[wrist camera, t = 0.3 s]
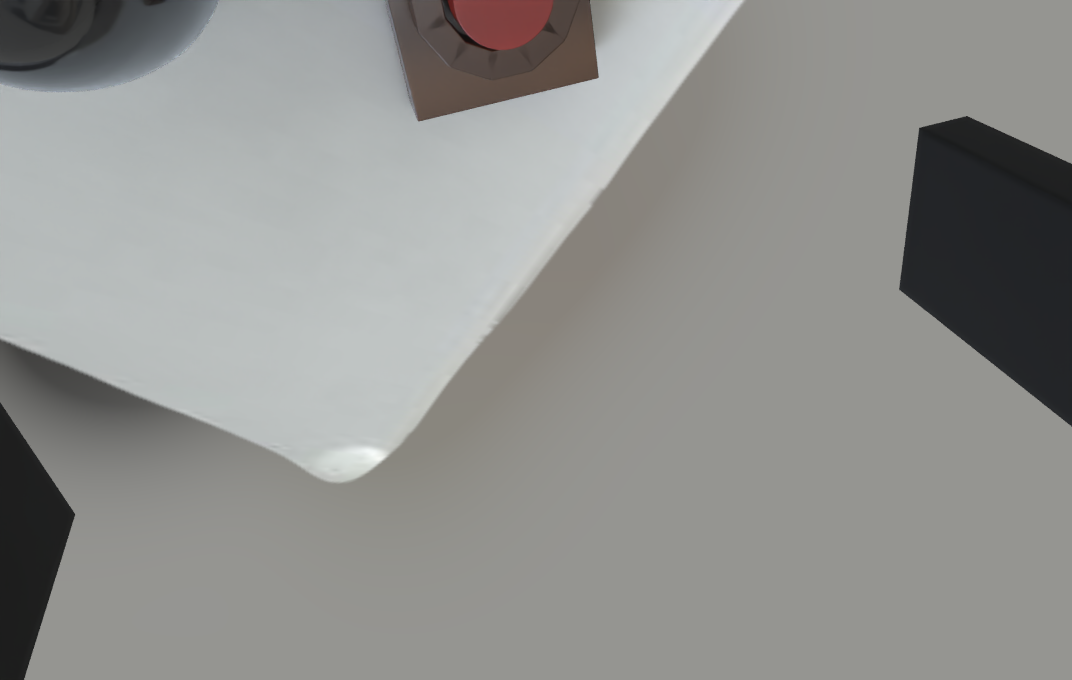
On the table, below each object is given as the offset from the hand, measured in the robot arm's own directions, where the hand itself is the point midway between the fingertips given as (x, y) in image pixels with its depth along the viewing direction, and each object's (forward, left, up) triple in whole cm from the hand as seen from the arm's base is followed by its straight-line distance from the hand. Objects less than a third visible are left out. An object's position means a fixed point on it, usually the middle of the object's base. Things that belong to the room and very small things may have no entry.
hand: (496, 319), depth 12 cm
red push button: (+1, +5, -25) cm, 26 cm away
